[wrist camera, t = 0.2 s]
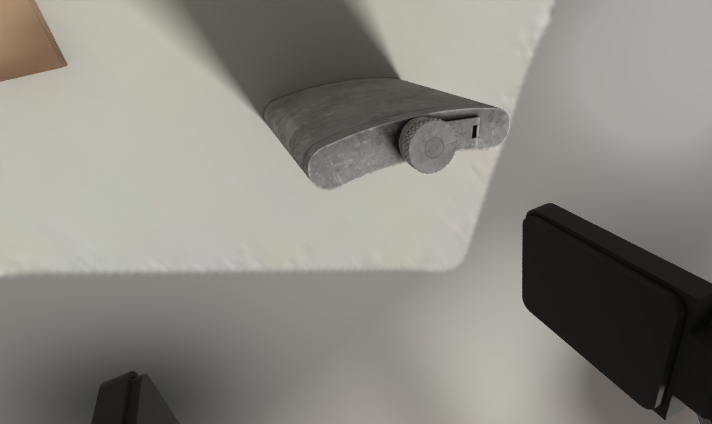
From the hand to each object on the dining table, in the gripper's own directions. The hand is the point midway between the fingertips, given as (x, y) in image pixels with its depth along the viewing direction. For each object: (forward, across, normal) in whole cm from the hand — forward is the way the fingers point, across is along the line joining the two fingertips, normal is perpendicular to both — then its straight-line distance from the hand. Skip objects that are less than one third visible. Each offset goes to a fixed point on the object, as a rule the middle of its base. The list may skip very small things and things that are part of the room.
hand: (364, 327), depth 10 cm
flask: (+31, -9, +2) cm, 33 cm away
